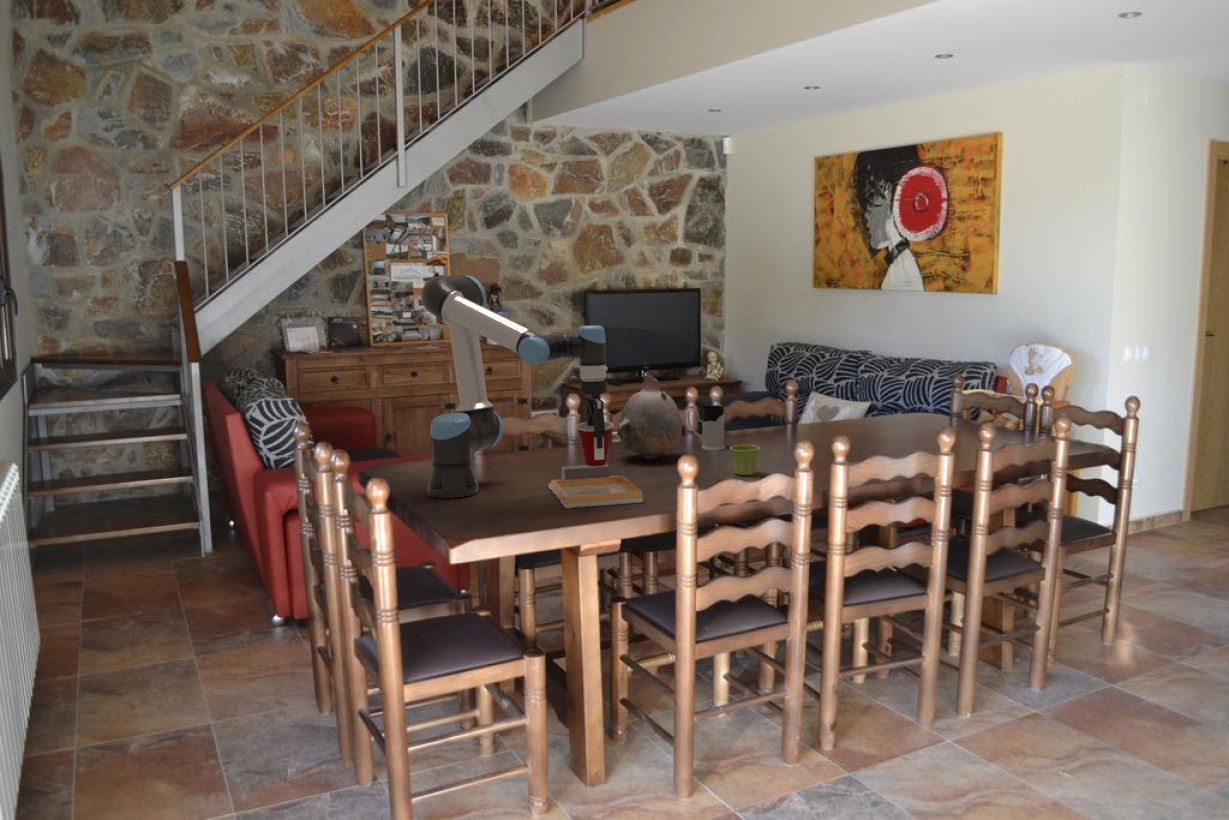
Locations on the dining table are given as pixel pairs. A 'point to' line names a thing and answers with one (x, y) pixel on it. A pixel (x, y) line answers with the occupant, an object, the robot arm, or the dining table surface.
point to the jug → (650, 421)
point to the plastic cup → (588, 443)
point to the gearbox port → (593, 487)
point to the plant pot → (744, 458)
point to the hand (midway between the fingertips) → (595, 456)
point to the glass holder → (711, 427)
